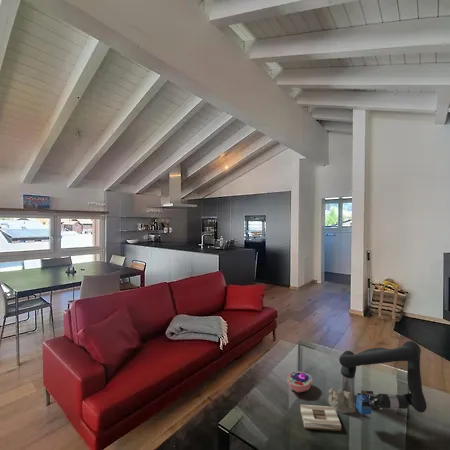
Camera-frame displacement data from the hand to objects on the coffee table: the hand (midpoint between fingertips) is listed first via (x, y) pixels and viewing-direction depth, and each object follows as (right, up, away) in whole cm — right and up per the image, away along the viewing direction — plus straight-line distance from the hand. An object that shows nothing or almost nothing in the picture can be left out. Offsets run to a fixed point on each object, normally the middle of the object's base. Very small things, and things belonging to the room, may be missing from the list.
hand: (360, 399), depth 164 cm
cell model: (-27, -16, +36) cm, 48 cm away
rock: (-3, -17, +20) cm, 26 cm away
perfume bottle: (+2, -7, 0) cm, 8 cm away
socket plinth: (-23, -18, +6) cm, 30 cm away
